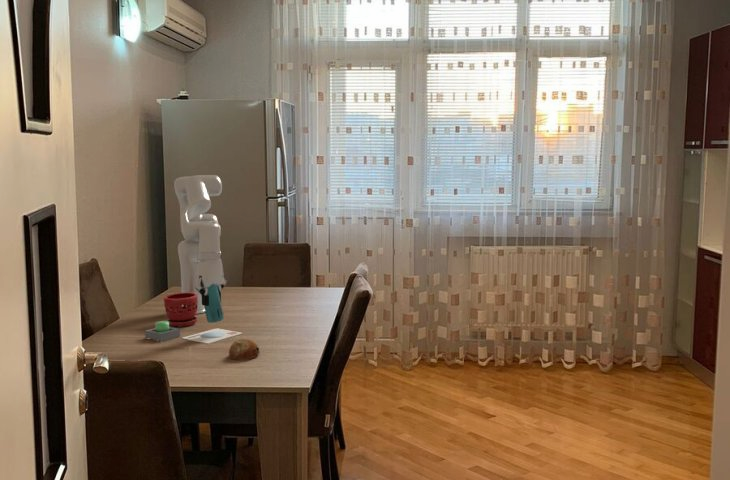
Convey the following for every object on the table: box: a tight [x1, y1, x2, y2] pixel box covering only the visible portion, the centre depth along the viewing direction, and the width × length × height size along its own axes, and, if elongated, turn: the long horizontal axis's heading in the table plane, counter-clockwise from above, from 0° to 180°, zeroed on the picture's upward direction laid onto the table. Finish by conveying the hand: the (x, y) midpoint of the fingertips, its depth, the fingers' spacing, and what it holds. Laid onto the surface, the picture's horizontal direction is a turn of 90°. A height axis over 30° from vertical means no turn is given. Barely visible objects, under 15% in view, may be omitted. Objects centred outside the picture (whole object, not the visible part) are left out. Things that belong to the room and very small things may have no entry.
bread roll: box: [228, 338, 261, 361], centre depth 255 cm, size 10×10×8 cm
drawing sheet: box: [181, 327, 244, 345], centre depth 283 cm, size 14×18×1 cm
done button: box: [154, 320, 170, 333], centre depth 281 cm, size 5×5×4 cm
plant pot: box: [163, 292, 198, 328], centre depth 302 cm, size 13×13×12 cm
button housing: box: [144, 326, 181, 342], centre depth 281 cm, size 9×9×3 cm
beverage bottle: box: [201, 283, 225, 324], centre depth 281 cm, size 6×7×20 cm
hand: (211, 303), depth 281 cm, fingers closed on beverage bottle, 5 cm apart
